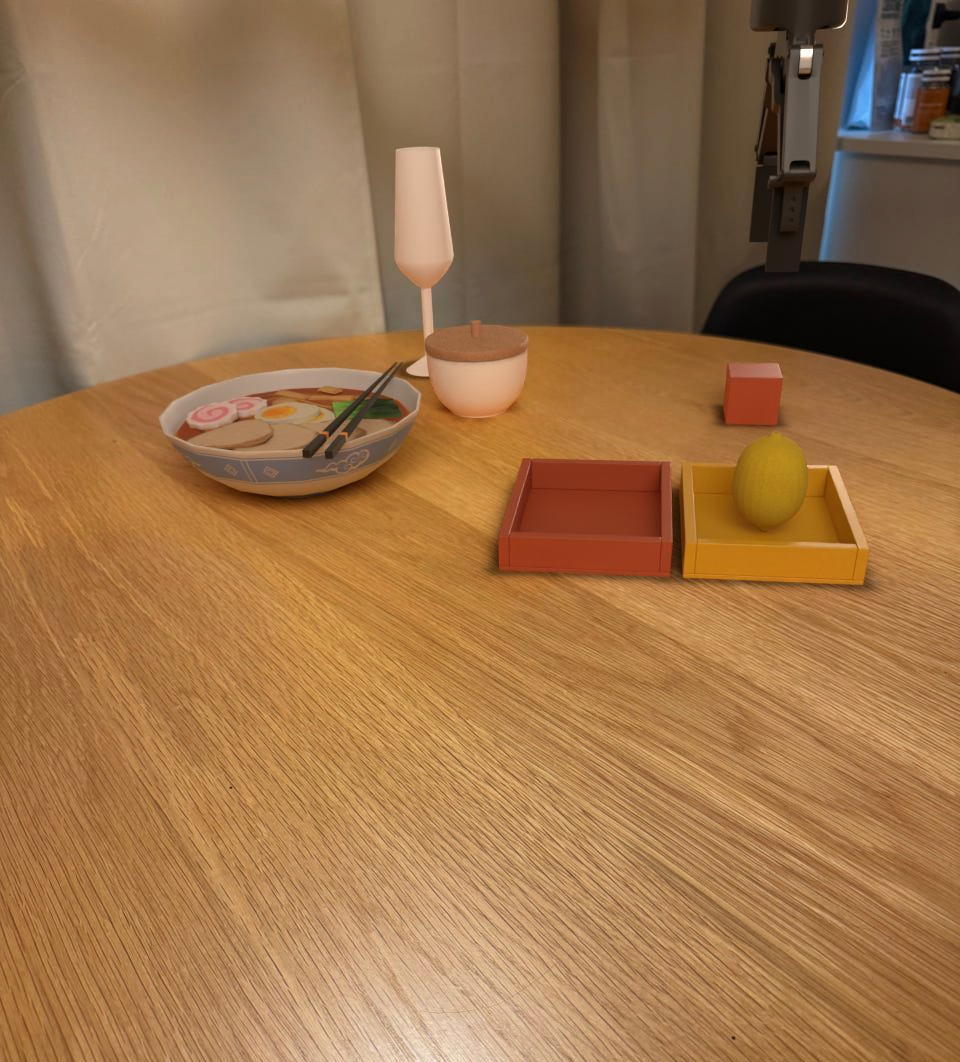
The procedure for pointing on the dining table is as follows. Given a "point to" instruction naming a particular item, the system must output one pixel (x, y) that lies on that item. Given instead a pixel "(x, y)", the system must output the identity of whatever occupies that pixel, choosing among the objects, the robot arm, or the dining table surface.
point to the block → (752, 393)
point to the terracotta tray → (589, 518)
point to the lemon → (770, 481)
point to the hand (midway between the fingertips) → (772, 255)
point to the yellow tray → (769, 532)
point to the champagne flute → (421, 228)
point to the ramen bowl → (293, 428)
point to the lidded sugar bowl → (477, 367)
